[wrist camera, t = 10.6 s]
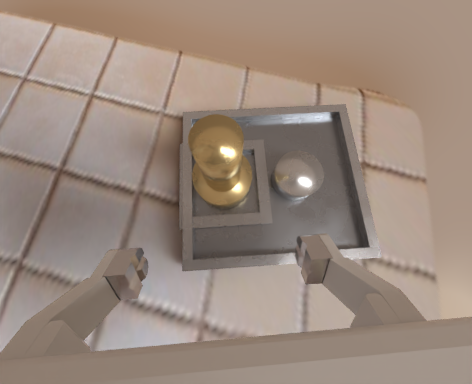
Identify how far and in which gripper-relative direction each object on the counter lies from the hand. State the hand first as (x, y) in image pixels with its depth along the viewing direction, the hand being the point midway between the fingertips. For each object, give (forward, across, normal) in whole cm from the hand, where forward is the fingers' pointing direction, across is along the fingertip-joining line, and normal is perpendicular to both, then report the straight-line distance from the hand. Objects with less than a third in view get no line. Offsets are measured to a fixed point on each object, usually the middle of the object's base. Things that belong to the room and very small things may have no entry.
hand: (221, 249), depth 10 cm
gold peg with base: (+12, 0, +3) cm, 13 cm away
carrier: (+13, -6, +4) cm, 15 cm away
